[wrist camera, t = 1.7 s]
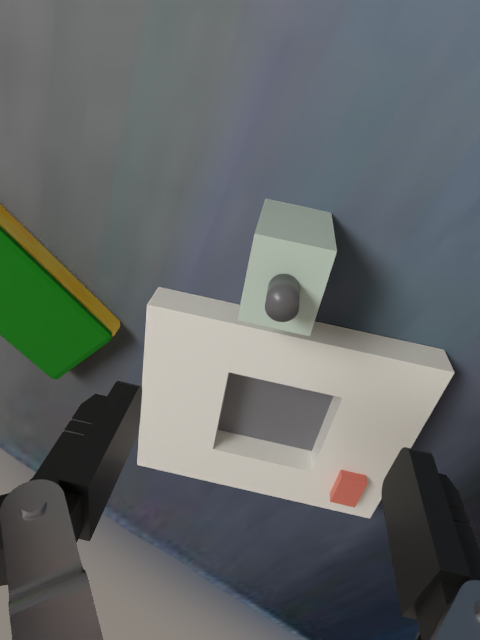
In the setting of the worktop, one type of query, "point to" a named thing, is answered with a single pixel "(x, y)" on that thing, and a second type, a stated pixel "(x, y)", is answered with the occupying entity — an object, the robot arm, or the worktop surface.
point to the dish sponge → (46, 304)
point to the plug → (288, 267)
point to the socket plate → (280, 403)
